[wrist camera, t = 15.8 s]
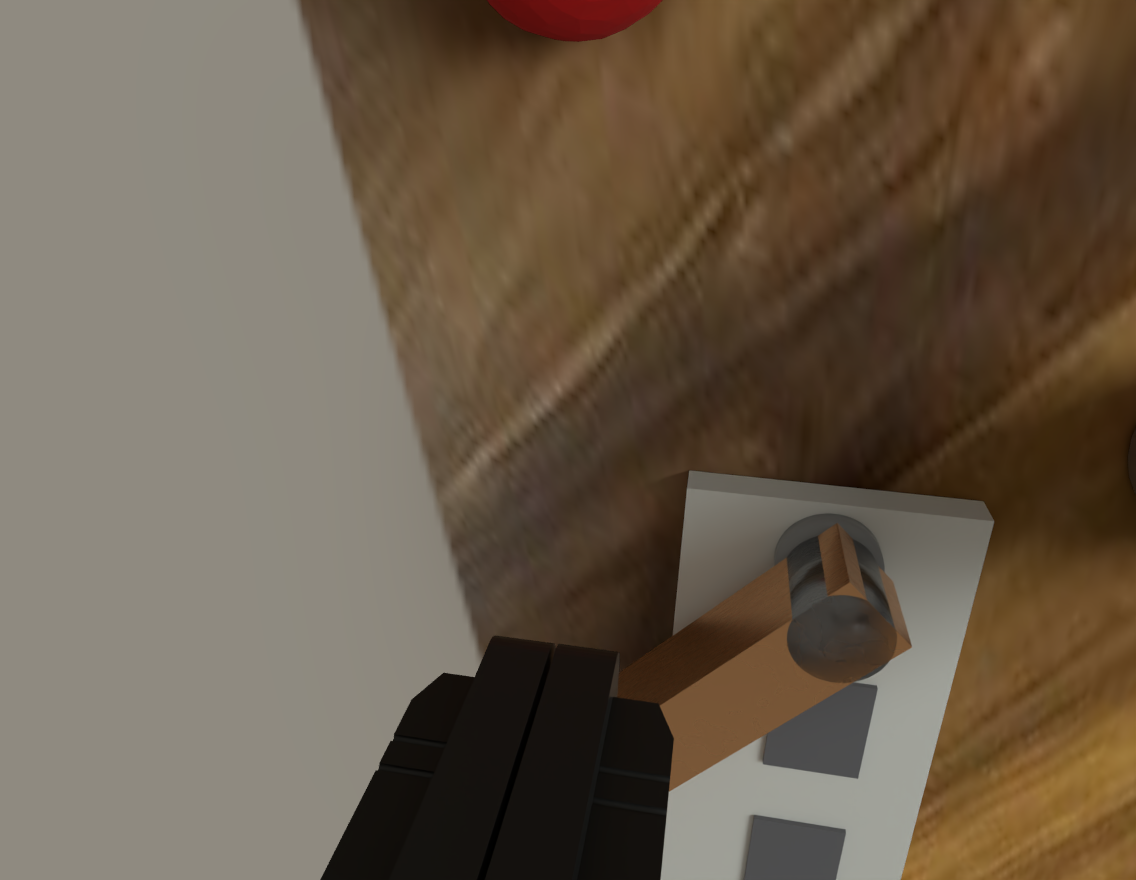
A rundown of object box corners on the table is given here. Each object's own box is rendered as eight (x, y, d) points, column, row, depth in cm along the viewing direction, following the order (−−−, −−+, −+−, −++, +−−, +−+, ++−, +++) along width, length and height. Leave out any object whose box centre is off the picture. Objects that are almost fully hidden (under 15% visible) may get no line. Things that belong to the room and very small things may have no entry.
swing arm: (899, 582, 41) (919, 648, 36) (518, 823, 51) (496, 898, 47) (838, 517, 40) (850, 576, 35) (463, 775, 50) (436, 846, 46)
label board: (983, 501, 42) (1000, 532, 39) (880, 909, 53) (887, 954, 51) (689, 470, 44) (685, 497, 41) (649, 869, 56) (645, 911, 53)
